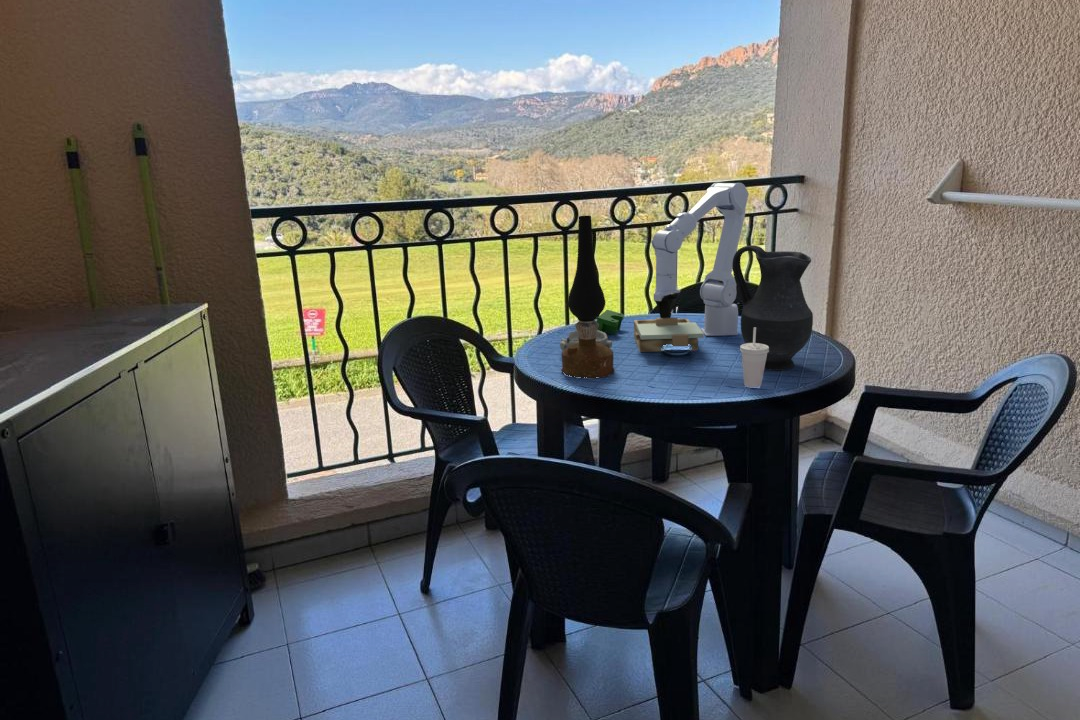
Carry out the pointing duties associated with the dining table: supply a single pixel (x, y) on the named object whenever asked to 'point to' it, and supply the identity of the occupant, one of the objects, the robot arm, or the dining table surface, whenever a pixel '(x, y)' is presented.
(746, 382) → the smoothie
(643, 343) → the tan shallow box
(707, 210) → the robot arm
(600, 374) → the oil lamp
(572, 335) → the dish
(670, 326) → the lid
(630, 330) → the dining table surface
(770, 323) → the pitcher
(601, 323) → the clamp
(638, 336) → the wooden block
